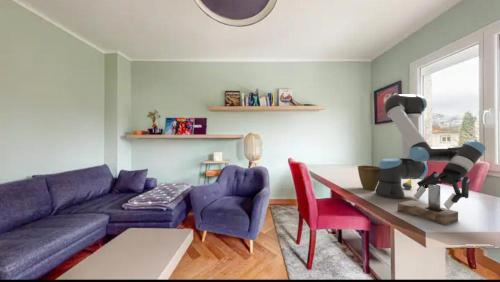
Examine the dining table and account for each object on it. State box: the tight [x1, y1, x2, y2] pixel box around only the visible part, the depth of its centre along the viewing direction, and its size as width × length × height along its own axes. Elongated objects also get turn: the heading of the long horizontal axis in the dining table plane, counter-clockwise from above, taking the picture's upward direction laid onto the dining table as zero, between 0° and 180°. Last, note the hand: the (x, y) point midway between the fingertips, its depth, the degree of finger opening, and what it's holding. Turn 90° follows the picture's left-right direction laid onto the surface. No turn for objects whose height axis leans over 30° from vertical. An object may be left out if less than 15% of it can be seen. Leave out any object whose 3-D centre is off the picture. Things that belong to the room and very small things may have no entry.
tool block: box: [397, 199, 459, 226], centre depth 93 cm, size 18×12×4 cm, turn 25°
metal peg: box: [427, 184, 441, 212], centre depth 91 cm, size 4×4×14 cm
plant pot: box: [357, 164, 379, 191], centre depth 141 cm, size 15×15×16 cm
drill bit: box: [402, 179, 413, 191], centre depth 143 cm, size 5×5×10 cm
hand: (429, 202), depth 90 cm, fingers open, 12 cm apart
